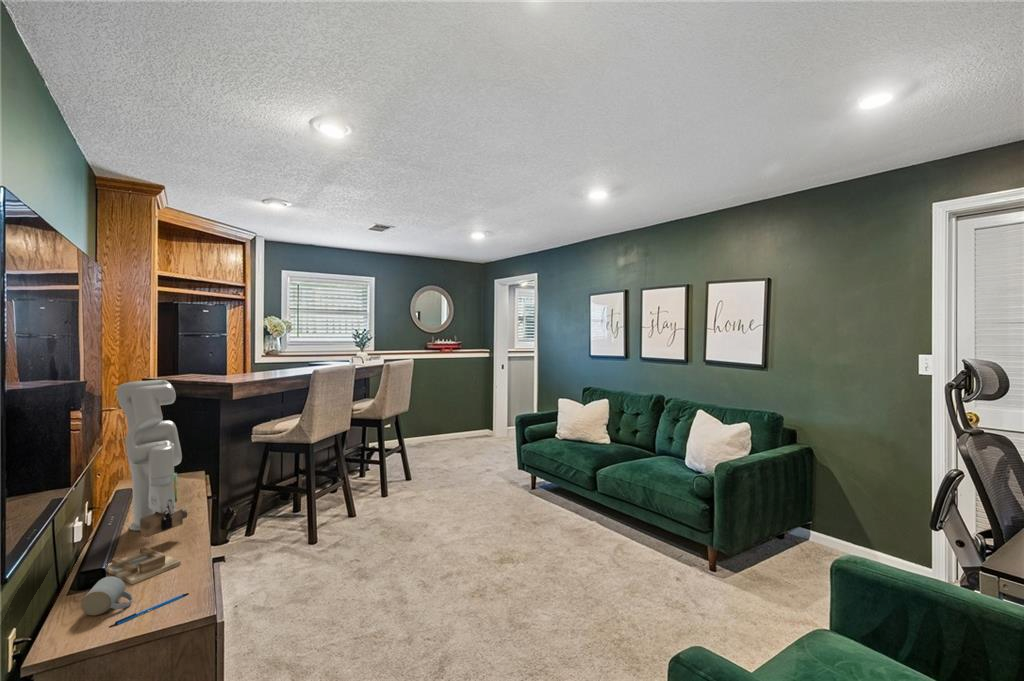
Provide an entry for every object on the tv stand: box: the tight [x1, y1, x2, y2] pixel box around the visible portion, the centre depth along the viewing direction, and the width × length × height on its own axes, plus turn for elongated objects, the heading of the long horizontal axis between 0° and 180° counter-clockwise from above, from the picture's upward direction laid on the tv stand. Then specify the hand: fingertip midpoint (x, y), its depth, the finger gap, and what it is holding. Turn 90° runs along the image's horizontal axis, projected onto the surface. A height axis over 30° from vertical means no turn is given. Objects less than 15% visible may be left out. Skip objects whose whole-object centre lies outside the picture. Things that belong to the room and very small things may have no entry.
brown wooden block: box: [140, 506, 188, 538], centre depth 179 cm, size 14×4×6 cm, turn 154°
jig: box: [107, 547, 182, 585], centre depth 160 cm, size 20×14×4 cm
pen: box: [108, 592, 190, 628], centre depth 136 cm, size 1×19×1 cm, turn 146°
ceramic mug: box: [80, 576, 134, 616], centre depth 137 cm, size 11×8×8 cm
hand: (163, 526), depth 179 cm, fingers closed on brown wooden block, 4 cm apart
